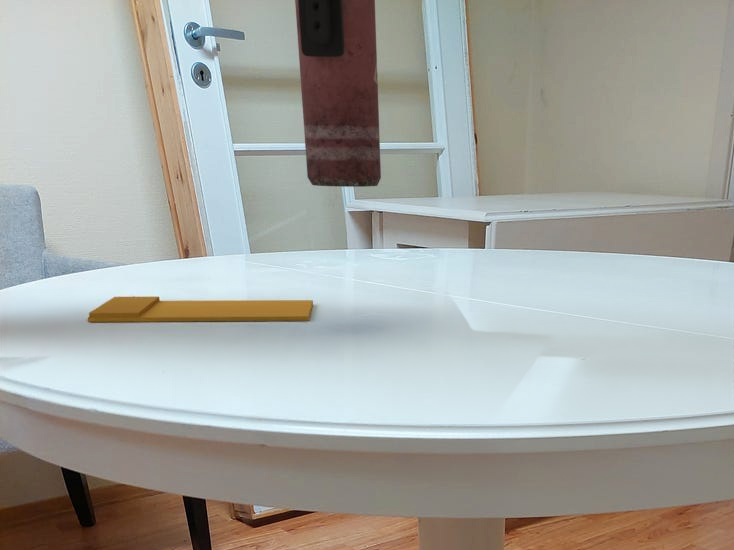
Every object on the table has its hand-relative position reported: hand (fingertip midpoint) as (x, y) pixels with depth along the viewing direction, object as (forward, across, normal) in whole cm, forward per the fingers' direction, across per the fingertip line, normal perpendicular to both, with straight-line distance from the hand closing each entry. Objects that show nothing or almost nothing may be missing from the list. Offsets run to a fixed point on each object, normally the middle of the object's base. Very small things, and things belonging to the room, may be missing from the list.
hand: (336, 57), depth 70 cm
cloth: (+21, -6, -16) cm, 27 cm away
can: (+9, 0, 0) cm, 9 cm away
